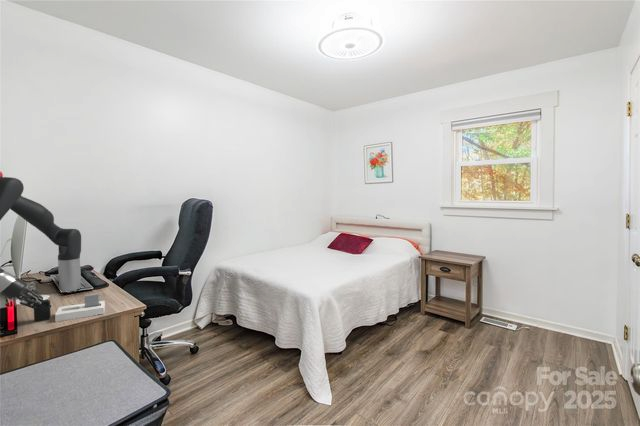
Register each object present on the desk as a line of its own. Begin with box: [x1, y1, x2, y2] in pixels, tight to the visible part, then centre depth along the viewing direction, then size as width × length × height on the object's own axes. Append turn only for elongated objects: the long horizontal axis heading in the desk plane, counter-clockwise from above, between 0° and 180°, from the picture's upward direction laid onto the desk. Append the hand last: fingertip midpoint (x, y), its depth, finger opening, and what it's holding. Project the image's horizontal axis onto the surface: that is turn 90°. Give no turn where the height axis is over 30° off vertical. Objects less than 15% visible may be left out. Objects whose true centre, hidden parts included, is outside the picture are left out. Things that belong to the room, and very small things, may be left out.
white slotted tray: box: [54, 292, 106, 323], centre depth 139 cm, size 10×17×8 cm, turn 122°
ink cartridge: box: [33, 299, 52, 322], centre depth 133 cm, size 5×2×8 cm, turn 121°
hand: (48, 309), depth 134 cm, fingers closed on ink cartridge, 2 cm apart
